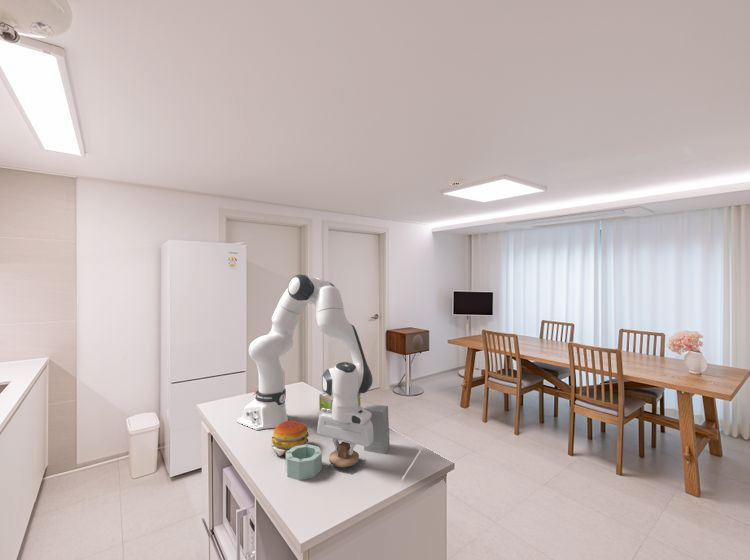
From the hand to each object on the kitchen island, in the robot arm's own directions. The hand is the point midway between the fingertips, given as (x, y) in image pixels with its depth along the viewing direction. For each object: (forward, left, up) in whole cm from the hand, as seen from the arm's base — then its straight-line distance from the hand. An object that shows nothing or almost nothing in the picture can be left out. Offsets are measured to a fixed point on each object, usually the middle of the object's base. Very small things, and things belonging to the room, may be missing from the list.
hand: (344, 452), depth 118 cm
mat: (+1, 0, -4) cm, 4 cm away
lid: (0, 0, -2) cm, 2 cm away
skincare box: (+6, +14, -4) cm, 16 cm away
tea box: (-16, +26, -5) cm, 31 cm away
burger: (-23, +1, -5) cm, 24 cm away
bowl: (-10, -9, -4) cm, 14 cm away
